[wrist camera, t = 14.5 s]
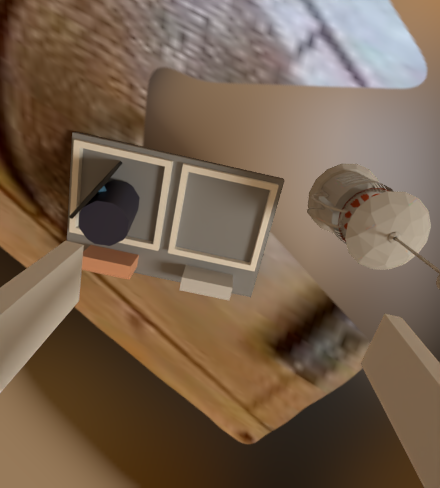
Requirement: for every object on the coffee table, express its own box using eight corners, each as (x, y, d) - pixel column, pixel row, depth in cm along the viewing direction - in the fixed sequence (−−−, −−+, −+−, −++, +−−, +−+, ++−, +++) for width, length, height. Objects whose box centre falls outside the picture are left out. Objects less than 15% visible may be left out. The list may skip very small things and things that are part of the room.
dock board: (76, 131, 44) (56, 133, 39) (283, 178, 45) (289, 186, 40) (69, 255, 50) (52, 269, 45) (250, 293, 51) (252, 311, 46)
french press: (366, 240, 47) (494, 359, 24) (286, 223, 47) (338, 328, 24) (392, 171, 44) (573, 234, 20) (307, 153, 43) (392, 195, 20)
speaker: (83, 177, 44) (50, 200, 35) (121, 160, 43) (98, 179, 34) (112, 225, 47) (89, 259, 38) (148, 210, 47) (134, 241, 37)
